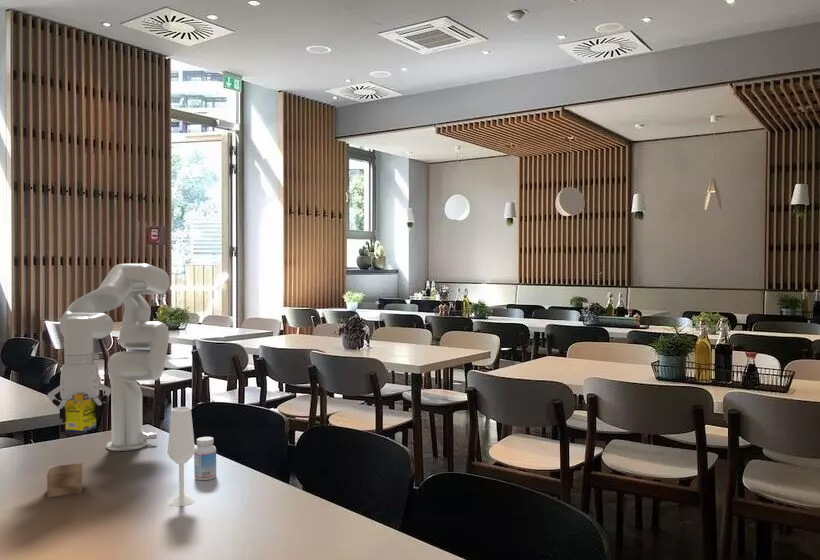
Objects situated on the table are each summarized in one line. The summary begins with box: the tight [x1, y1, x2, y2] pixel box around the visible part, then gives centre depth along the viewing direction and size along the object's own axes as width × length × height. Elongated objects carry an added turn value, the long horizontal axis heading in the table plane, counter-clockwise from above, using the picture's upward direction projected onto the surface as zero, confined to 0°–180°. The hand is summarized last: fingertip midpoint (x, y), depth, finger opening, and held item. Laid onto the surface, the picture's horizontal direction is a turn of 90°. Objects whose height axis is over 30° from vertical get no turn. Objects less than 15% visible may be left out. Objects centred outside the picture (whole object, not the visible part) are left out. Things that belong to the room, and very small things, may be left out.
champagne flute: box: [167, 406, 196, 507], centre depth 177 cm, size 7×7×24 cm
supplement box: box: [64, 394, 97, 434], centre depth 198 cm, size 6×6×11 cm
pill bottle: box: [193, 436, 217, 481], centre depth 197 cm, size 6×6×11 cm
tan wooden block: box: [46, 462, 84, 498], centre depth 185 cm, size 8×8×6 cm
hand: (80, 419), depth 198 cm, fingers closed on supplement box, 8 cm apart
